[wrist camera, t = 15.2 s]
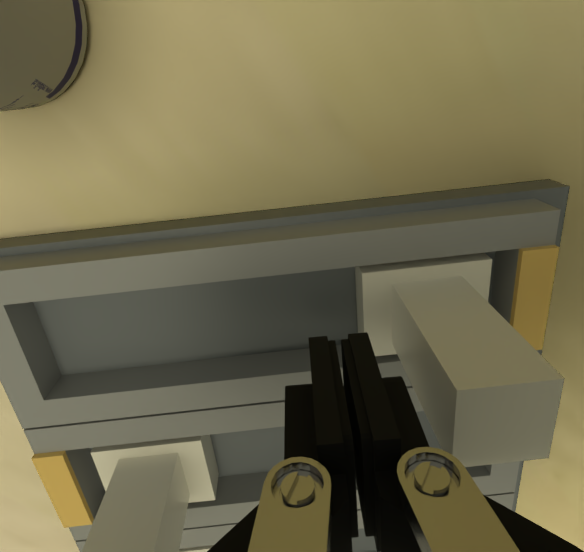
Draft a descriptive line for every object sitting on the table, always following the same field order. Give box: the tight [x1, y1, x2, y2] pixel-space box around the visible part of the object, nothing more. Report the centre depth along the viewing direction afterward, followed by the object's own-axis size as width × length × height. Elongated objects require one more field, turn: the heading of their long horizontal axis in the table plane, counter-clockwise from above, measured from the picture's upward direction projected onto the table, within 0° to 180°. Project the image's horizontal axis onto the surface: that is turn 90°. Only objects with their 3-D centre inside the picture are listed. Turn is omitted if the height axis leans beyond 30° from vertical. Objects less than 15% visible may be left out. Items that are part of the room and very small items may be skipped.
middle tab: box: [82, 435, 219, 552], centre depth 16 cm, size 4×3×7 cm
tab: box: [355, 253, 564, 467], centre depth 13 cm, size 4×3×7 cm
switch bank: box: [0, 179, 570, 552], centre depth 19 cm, size 22×20×3 cm
